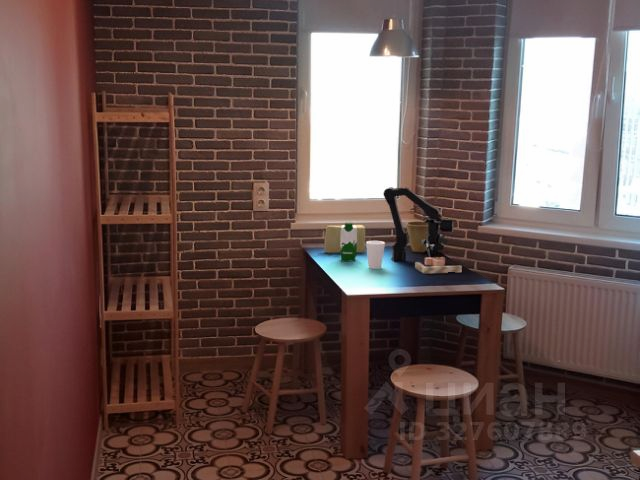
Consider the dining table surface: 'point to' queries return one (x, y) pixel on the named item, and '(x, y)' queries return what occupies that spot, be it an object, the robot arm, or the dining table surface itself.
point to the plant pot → (417, 235)
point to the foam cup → (375, 253)
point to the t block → (435, 261)
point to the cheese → (334, 239)
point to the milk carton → (348, 242)
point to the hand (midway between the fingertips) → (432, 260)
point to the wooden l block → (437, 268)
